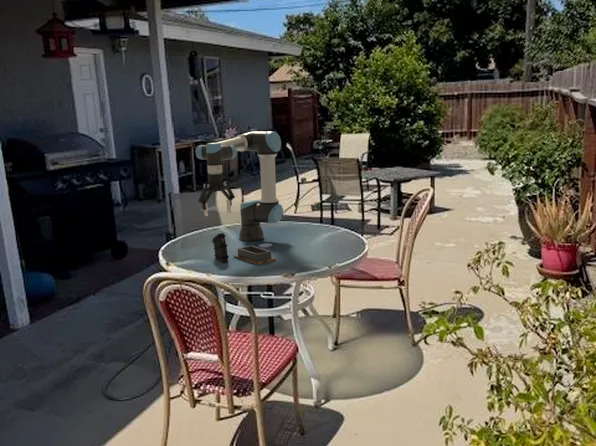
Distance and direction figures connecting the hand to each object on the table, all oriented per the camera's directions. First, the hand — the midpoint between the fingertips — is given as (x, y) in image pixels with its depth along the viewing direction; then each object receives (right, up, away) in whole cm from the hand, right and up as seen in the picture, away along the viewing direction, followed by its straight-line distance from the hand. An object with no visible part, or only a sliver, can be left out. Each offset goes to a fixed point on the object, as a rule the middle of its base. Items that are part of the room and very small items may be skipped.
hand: (217, 214), depth 289 cm
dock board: (+19, -24, +5) cm, 30 cm away
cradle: (+19, -23, +5) cm, 30 cm away
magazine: (+1, -24, +5) cm, 25 cm away
